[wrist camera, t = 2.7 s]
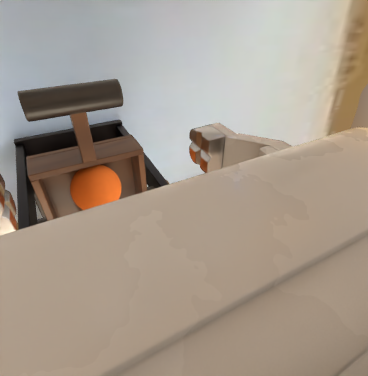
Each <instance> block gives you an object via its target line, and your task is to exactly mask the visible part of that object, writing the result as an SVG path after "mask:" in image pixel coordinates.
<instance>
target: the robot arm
mask: <svg viewBox="0 0 368 376" xmlns="http://www.w3.org/2000/svg"><path fill="white" fill-rule="evenodd" d="M190 139H191V141H192V143H191V145H190V146H189V150H190V156H191V159H192V160H193V162H194V163H196V164H199V165H200V168H201V169H202V170H203V171H204V172H205V174H201V175H198V176H195V177H191V178H188V179H185V180H182V181H178V182H175V183H172V184H168V185H165V186H162V187H158V188H155V189H152V190H149V191H145V192H142V193H139V194H135V195H132V196H129V197H125V198H122V199H119V200H116V201H112V202H109V203H106V204H102V205H99V206H96V207H92V208H89V209H86V210H82V211H79V212H76V213H73V214H69V215H66V216H63V217H59V218H56V219H53V220H49V221H46V222H43V223H40V224H36V225H33V226H30V227H26V228H23V229H20V230H17V221H16V219H15V217H14V216H15V215H16V207H15V203H14V200H13V197H12V195H11V193H10V192H9V191H7V190H5V181H4V180H3V178H2V176H1V174H0V376H368V128H362V127H357V128H352V129H349V130H346V131H343V132H339V133H336V134H333V135H330V136H326V137H323V138H320V139H316V140H313V141H310V142H307V143H303V144H300V145H297V146H291V145H289V144H287V143H285V142H284V141H279V140H274V139H268V138H263V137H257V136H251V135H246V134H240V133H239V134H236V133H234V132H233V131H231V130H230V129H228V128H226V127H225V126H223V125H222V124H220V123H215V124H211V125H206V126H202V127H198V128H194V129H192V130H191V131H190Z"/></svg>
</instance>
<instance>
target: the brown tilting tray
mask: <svg viewBox="0 0 368 376" xmlns="http://www.w3.org/2000/svg"><path fill="white" fill-rule="evenodd" d="M18 96H19V100H20V103H21V106H22V109H23V112H24V114H25V117H26V119H27V121H29V122H30V121H36V120H42V119H48V118H54V117H60V116H66V115H70V118H71V121H72V125H73V129H74V133H75V136H76V140H77V144H78V146H75V147H70V148H65V149H61V150H56V151H51V152H46V153H42V154H37V155H32V156H27V157H26V159H27V170H28V177H29V179H30V181H31V184H32V186H33V189H34V191H35V193H36V196H37V198H38V200H39V202H40V205H41V207H42V209H43V212H44V214H45V216H46V217H45V218H41V219H38V220H37V224H40V223H43V222H46V221H49V220H53V219H56V218H59V217H63V216H66V215H69V214H73V213H76V212H79V211H82V209H81V208H80V207H78V206H77V205H76V204H75V202H74V201H73V199H72V197H71V193H70V184H71V181H72V178H73V176H74V175H75V174H76V173H77V172H78V171H79V170H80V169H84V168H88V167H92V166H96V165H104V166H106V167H109V168H110V169H112V170H113V171H114V172H115V173H116V174H117V176H118V177H119V179H120V182H121V195H120V198H119V199H122V198H125V197H129V196H132V195H135V194H139V193H142V192H145V191H149V190H152V189H155V188H154V186H150V187H147V183H146V173H145V163H144V154H143V148H142V147H141V146H140V144H139V143H138V142H137V141H136V139H135V138H134V137H133V136H132V135H127V136H122V137H118V138H113V139H108V140H103V141H99V142H94V143H93V141H92V136H91V132H90V128H89V123H88V119H87V114H86V112H90V111H96V110H102V109H108V108H114V107H120V106H122V105H123V94H122V89H121V86H120V84H119V82H118V80H117V79H111V80H103V81H95V82H87V83H79V84H71V85H63V86H55V87H48V88H40V89H32V90H24V91H18Z"/></svg>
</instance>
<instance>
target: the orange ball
mask: <svg viewBox="0 0 368 376" xmlns="http://www.w3.org/2000/svg"><path fill="white" fill-rule="evenodd" d="M70 193H71V197H72V199H73V201H74V202H75V204H76V205H77V206H78V207H80V208H81V209H82V210H86V209H89V208H92V207H96V206H99V205H102V204H106V203H109V202H112V201H116V200H119V198H120V195H121V182H120V179H119V177H118V176H117V174H116V173H115V172H114V171H113V170H112V169H110V168H109V167H106V166H104V165H96V166H92V167H88V168H84V169H80V170H79V171H78V172H77V173H76V174H75V175H74V176H73V178H72V181H71V184H70Z"/></svg>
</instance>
